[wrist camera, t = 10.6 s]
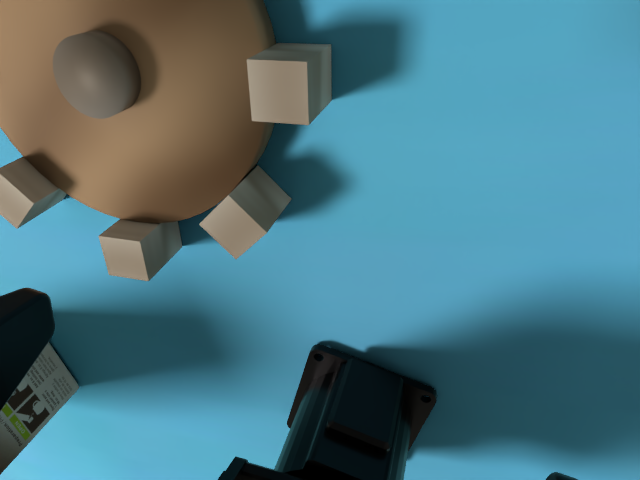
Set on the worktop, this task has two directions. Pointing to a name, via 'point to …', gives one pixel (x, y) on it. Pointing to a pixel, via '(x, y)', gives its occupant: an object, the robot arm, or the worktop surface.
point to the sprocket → (151, 117)
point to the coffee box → (34, 404)
